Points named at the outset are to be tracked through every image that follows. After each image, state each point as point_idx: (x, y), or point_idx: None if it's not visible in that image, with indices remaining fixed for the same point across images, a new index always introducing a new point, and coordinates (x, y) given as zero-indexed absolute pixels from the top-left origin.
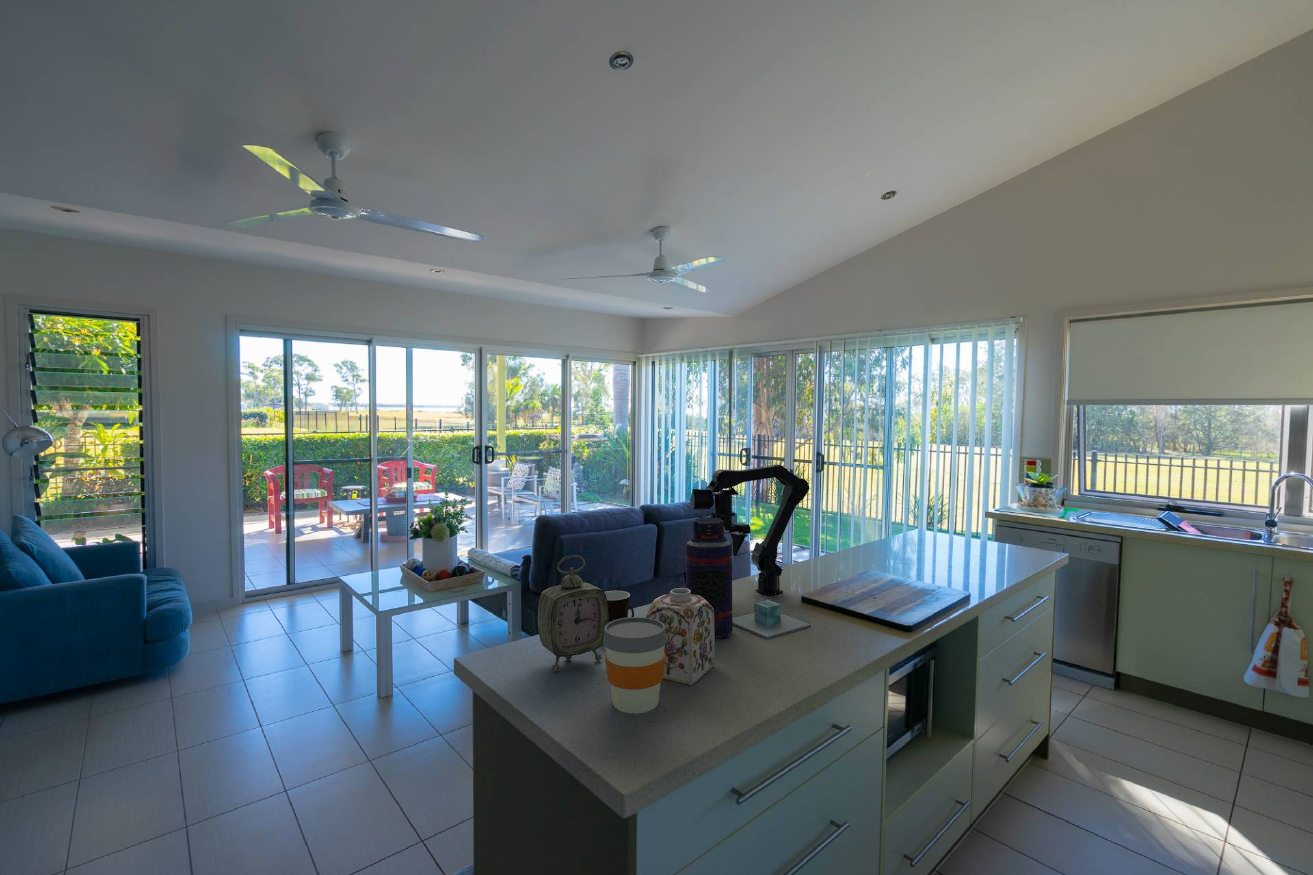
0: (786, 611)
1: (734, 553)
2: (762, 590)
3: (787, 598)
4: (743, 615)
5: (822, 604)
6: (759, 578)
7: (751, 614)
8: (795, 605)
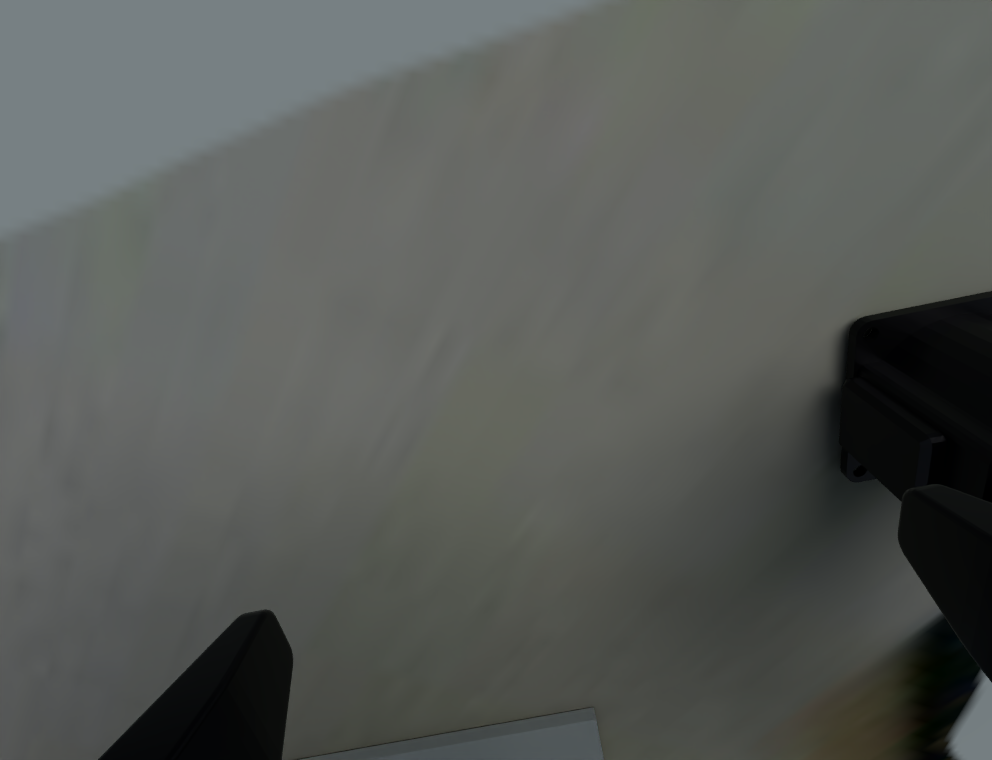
0: (687, 732)
1: (941, 566)
2: (847, 442)
3: (903, 558)
4: (390, 756)
5: (965, 704)
6: (932, 458)
7: (445, 756)
8: (819, 675)
